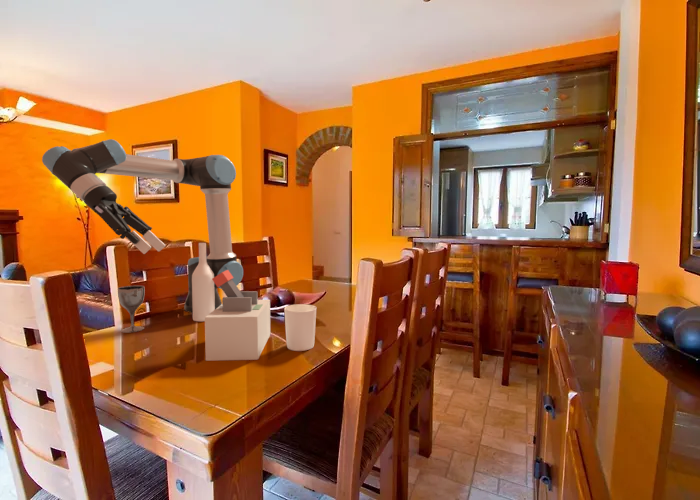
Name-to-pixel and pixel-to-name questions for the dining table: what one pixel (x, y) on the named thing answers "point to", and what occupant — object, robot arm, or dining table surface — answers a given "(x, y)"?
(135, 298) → the wine glass
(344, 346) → the dining table surface
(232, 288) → the toggle
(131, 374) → the dining table surface
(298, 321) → the candle holder
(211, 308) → the bottle
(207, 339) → the box
